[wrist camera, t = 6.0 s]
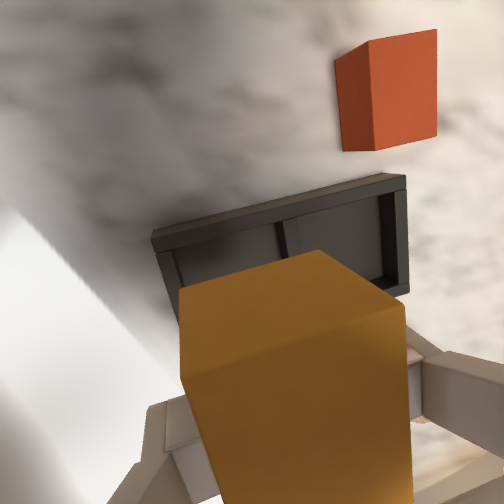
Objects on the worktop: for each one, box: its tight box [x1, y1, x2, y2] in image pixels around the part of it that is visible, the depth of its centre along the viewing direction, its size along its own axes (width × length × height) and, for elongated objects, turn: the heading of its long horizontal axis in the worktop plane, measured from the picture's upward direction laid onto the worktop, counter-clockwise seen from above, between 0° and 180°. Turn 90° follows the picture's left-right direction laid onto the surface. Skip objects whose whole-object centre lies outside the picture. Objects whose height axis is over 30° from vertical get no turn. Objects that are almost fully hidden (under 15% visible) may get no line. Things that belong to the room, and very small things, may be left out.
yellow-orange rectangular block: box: [179, 250, 414, 504], centre depth 9 cm, size 6×4×4 cm
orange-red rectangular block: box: [335, 29, 437, 151], centre depth 21 cm, size 6×4×4 cm
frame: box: [151, 173, 410, 325], centre depth 23 cm, size 10×18×3 cm, turn 102°
